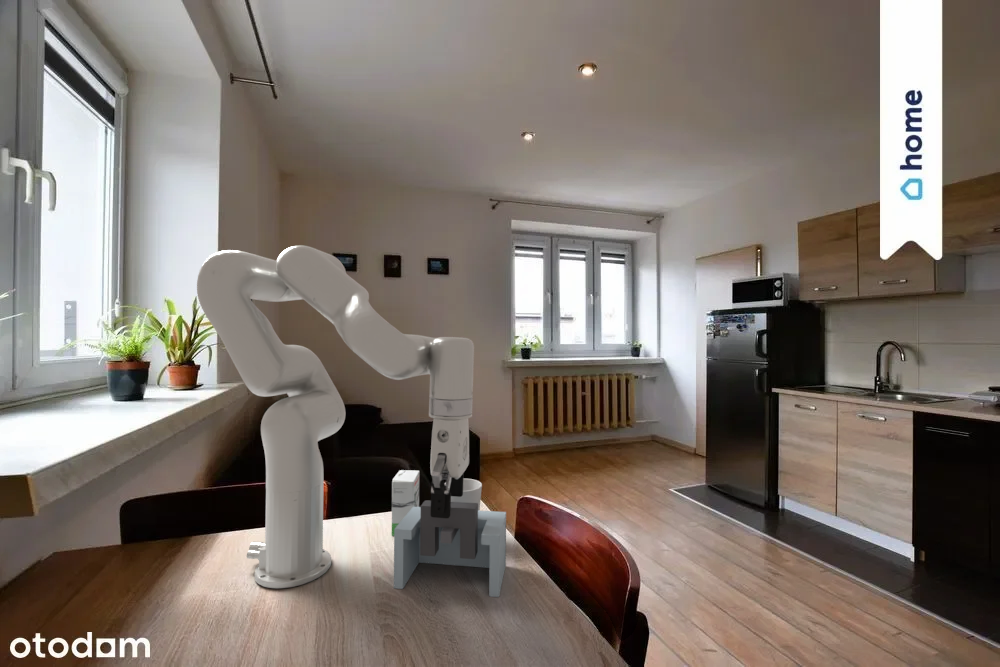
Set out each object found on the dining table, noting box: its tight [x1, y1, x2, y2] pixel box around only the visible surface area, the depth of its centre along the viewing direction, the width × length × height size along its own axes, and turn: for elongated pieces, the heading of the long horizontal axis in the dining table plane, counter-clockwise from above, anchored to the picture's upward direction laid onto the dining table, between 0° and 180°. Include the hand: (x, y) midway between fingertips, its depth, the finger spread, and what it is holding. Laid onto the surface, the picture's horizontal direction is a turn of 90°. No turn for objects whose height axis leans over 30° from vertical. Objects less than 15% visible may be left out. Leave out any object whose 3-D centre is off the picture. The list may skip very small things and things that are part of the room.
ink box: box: [391, 469, 420, 537], centre depth 97 cm, size 9×5×12 cm, turn 2°
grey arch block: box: [420, 499, 478, 559], centre depth 76 cm, size 10×3×8 cm, turn 83°
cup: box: [444, 478, 483, 511], centre depth 91 cm, size 8×8×12 cm
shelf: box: [393, 506, 507, 598], centre depth 78 cm, size 18×10×10 cm, turn 83°
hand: (447, 505), depth 76 cm, fingers open, 9 cm apart
